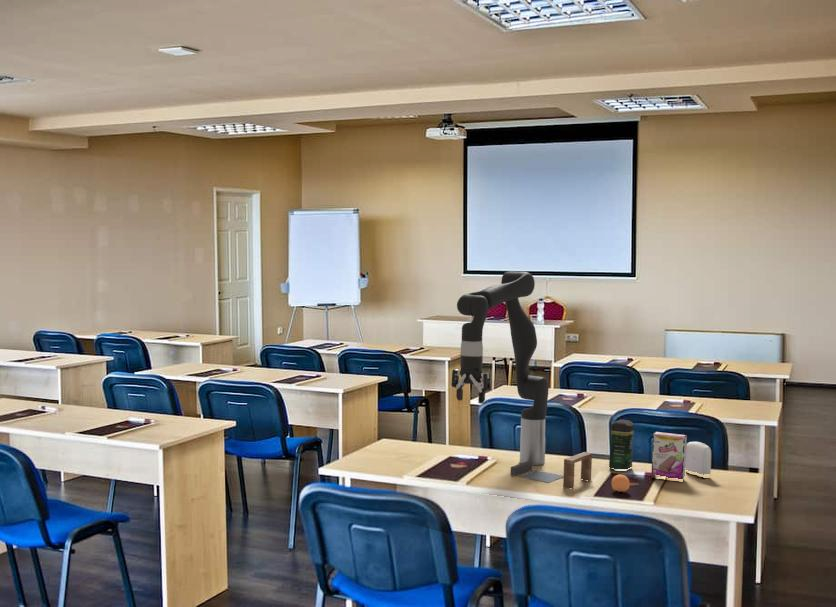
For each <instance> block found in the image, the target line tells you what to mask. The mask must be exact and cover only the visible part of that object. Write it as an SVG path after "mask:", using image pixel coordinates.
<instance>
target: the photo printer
mask: <svg viewBox="0 0 836 607" xmlns="http://www.w3.org/2000/svg"><path fill="white" fill-rule="evenodd" d="M685 468H686V469H685V470H688V471H692V472H697V473H699V474H703V475H704V474H711V473H712V472H711V471H712V469H711V468H712V450H711V447H709V445H707V444H706V443H703V442H700V441H689V442H686V459H685Z"/></svg>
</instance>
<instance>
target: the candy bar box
mask: <svg viewBox="0 0 836 607" xmlns="http://www.w3.org/2000/svg"><path fill="white" fill-rule="evenodd" d="M687 438H688V436H687V434H686V435H685V434H680V433H679V434H678V433H669V432H662V431H661V432H660V431H655V432H653V434H652V456H651V473H652V474H656V475H660V476H666V477H668V478H678V479H683V478H684V476H686V473H685V459H686V445H687V440H688V439H687Z"/></svg>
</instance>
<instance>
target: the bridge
mask: <svg viewBox="0 0 836 607" xmlns="http://www.w3.org/2000/svg"><path fill="white" fill-rule="evenodd" d="M579 462H580V464H581V465H580V480H581V479H583V480H588V481H587V482H590V481H589V480H591V481H592V463H593V453H592V452H587V451H583V452H581V453H577V454H575V455H572V456H570V457H567V458H564V459H563V478H562V479H563V481H562V488H564V487H565V488H566V489H569V488H572V489H574V488H575V486H574V485H575V464H577V463H579ZM583 480H582V481H583ZM573 487H574V488H573Z"/></svg>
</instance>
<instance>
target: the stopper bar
mask: <svg viewBox="0 0 836 607" xmlns="http://www.w3.org/2000/svg"><path fill="white" fill-rule="evenodd" d="M532 471H533V465H532V462H529V461H527V462H524V463H518V464H515V465H512V466H510V474H509V475H510V476H513V477H517V476H521V475H524V474H527V473H529V472H532Z"/></svg>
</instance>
